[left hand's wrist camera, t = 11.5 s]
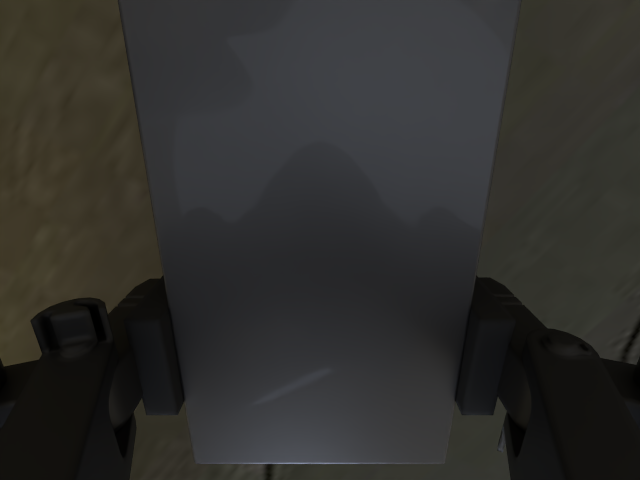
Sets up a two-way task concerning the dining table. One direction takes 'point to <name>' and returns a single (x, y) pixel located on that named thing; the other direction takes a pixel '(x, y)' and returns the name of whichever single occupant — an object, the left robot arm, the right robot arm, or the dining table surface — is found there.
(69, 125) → the dining table surface
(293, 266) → the cabinet
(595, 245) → the dining table surface
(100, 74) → the dining table surface
